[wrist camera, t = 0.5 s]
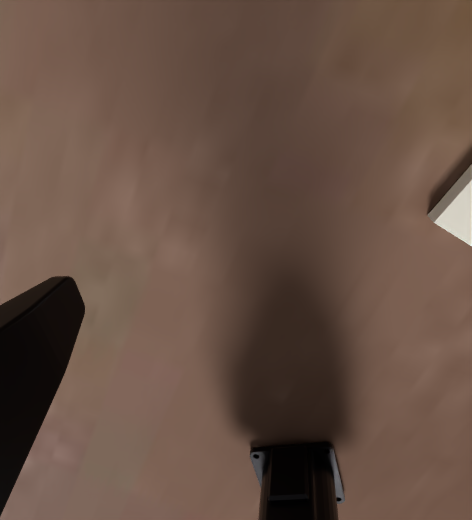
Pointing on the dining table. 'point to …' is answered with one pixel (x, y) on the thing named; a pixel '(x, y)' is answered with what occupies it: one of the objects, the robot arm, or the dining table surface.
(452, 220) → the block holder base
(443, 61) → the dining table surface
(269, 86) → the dining table surface
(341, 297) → the dining table surface
